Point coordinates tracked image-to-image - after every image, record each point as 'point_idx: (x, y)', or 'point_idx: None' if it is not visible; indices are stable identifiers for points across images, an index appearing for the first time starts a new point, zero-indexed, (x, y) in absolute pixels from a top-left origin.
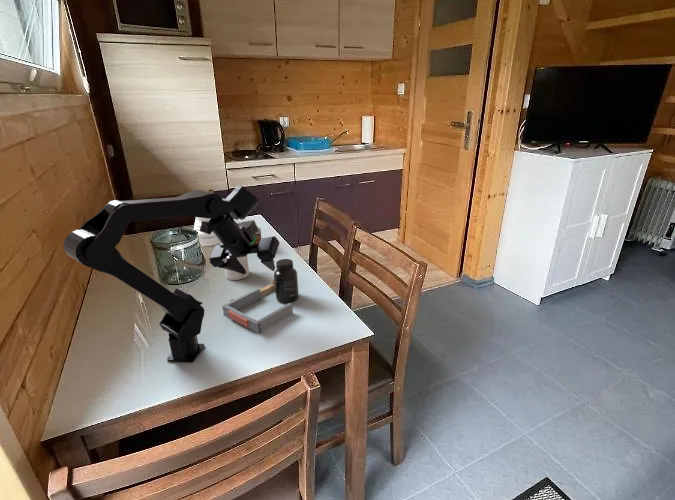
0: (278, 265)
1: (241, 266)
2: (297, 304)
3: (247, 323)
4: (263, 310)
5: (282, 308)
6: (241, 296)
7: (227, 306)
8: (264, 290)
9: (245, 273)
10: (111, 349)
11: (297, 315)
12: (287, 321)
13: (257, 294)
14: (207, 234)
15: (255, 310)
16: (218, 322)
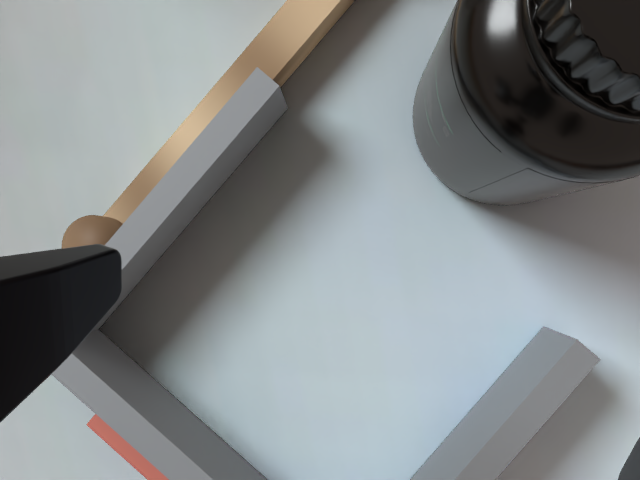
0: (603, 65)
1: (7, 311)
2: (586, 219)
3: None
4: (338, 291)
5: (526, 428)
6: (144, 206)
7: (65, 365)
8: (308, 38)
9: (121, 279)
10: None
11: (600, 375)
12: (534, 449)
13: (264, 117)
14: None
15: (279, 287)
16: (52, 429)
